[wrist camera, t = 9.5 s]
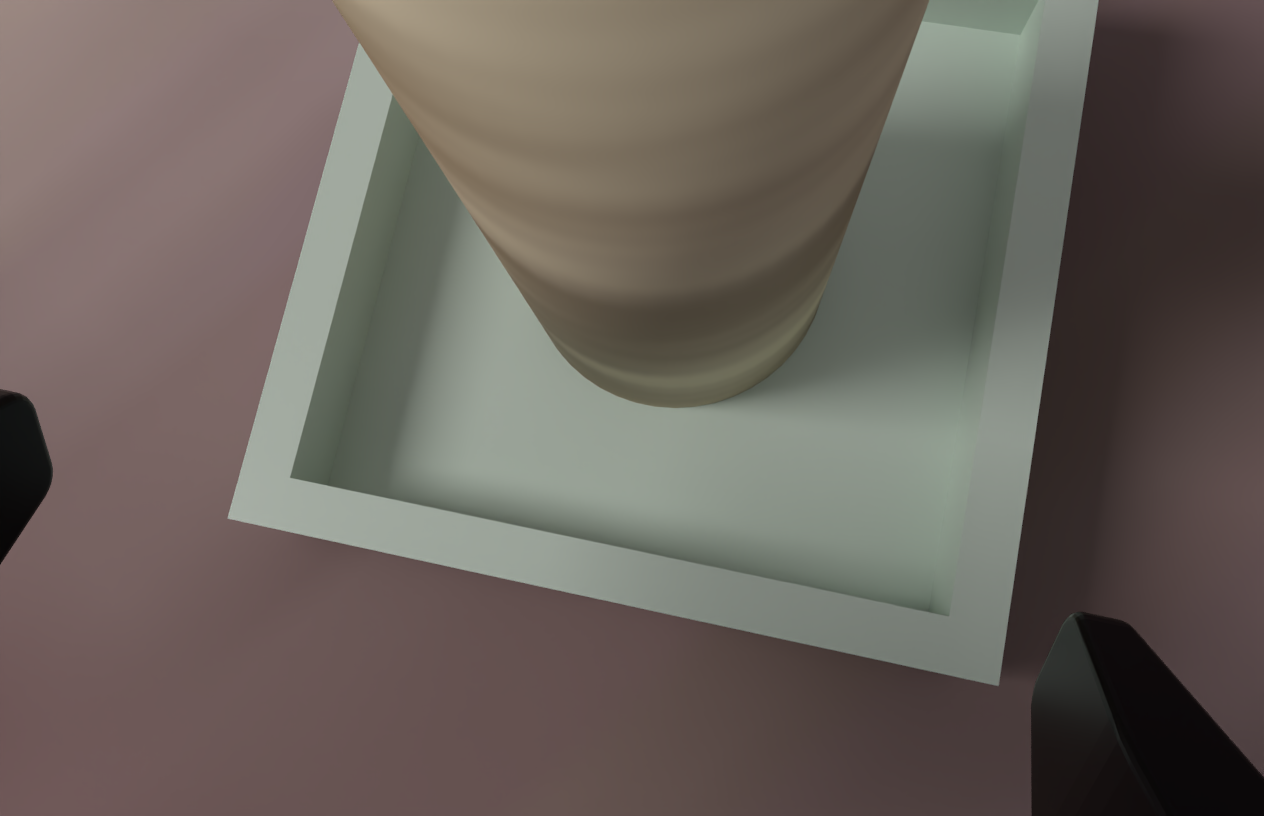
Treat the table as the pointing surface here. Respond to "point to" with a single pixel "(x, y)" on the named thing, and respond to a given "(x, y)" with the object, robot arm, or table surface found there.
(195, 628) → the table surface
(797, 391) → the tray
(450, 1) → the dowel
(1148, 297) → the table surface
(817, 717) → the table surface
